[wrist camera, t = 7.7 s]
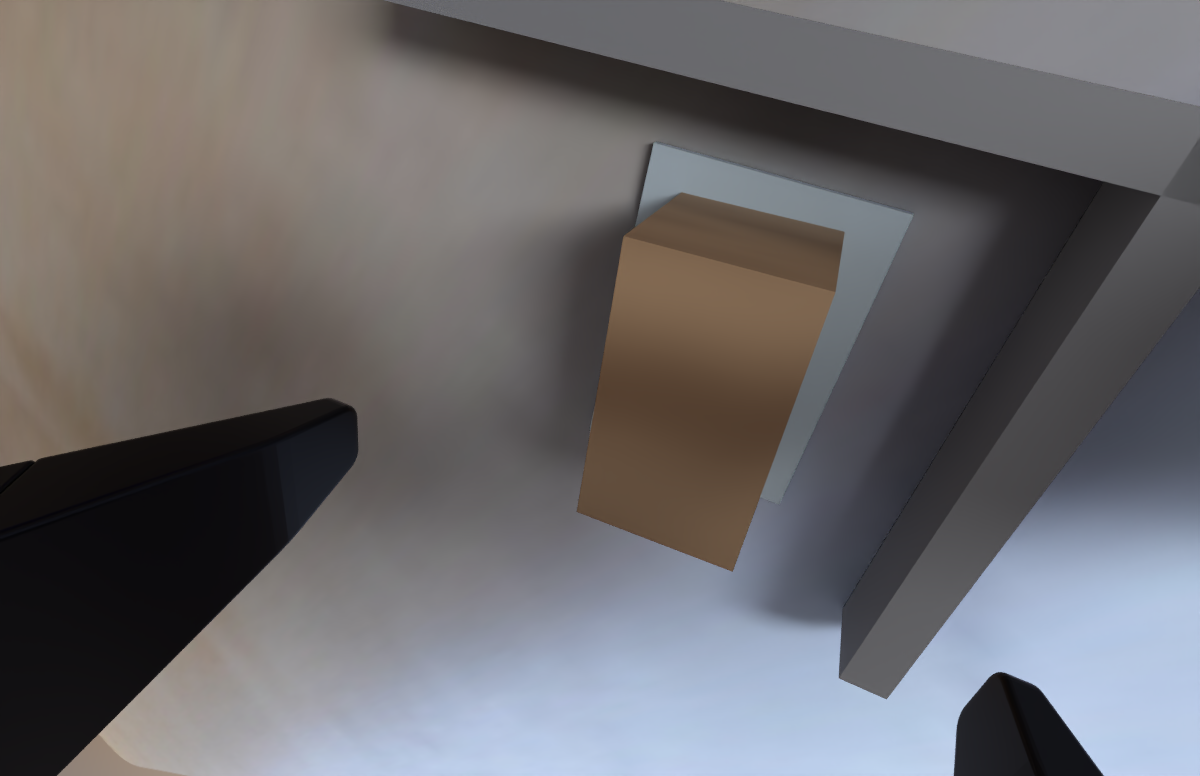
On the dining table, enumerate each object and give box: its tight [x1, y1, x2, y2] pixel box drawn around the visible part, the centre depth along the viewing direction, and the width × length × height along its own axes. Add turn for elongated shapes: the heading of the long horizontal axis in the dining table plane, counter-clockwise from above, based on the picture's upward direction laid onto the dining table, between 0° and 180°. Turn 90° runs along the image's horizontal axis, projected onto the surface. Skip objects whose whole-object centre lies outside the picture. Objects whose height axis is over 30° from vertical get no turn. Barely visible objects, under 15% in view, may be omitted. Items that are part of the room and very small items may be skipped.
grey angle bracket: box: [385, 0, 1200, 699], centre depth 18 cm, size 19×17×3 cm
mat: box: [589, 142, 914, 505], centre depth 19 cm, size 7×10×1 cm
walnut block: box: [577, 192, 845, 572], centre depth 17 cm, size 8×4×5 cm, turn 171°
